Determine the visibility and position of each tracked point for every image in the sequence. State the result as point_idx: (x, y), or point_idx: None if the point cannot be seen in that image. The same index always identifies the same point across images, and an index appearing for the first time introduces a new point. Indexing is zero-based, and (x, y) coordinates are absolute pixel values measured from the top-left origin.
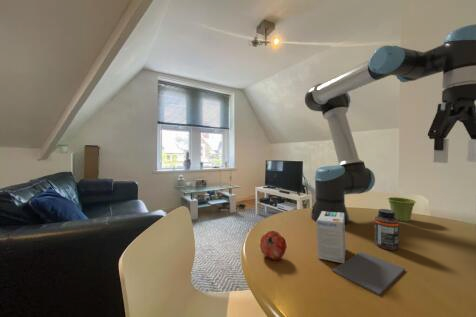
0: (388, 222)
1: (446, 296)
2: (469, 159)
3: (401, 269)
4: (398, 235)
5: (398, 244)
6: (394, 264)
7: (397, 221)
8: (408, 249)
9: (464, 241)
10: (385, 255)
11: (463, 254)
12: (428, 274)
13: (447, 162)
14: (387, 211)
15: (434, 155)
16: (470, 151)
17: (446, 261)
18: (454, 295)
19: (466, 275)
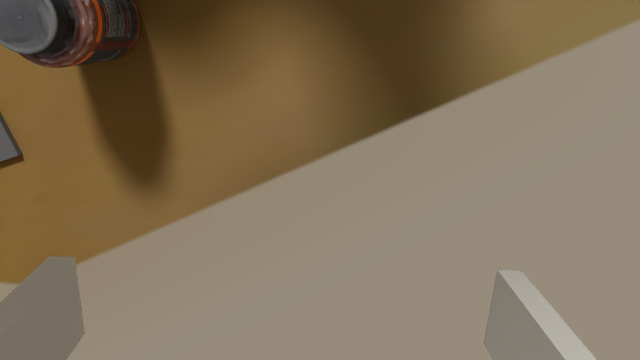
0: (19, 53)
1: (23, 248)
2: (502, 292)
3: (3, 156)
4: (99, 60)
5: (116, 57)
6: (5, 132)
7: (63, 64)
8: (165, 64)
9: (451, 82)
10: (39, 72)
11: (311, 143)
12: (72, 184)
13: (81, 335)
14: (10, 32)
15: (15, 295)
16: (539, 346)
17: (203, 156)
18: (46, 251)
19: (170, 214)
